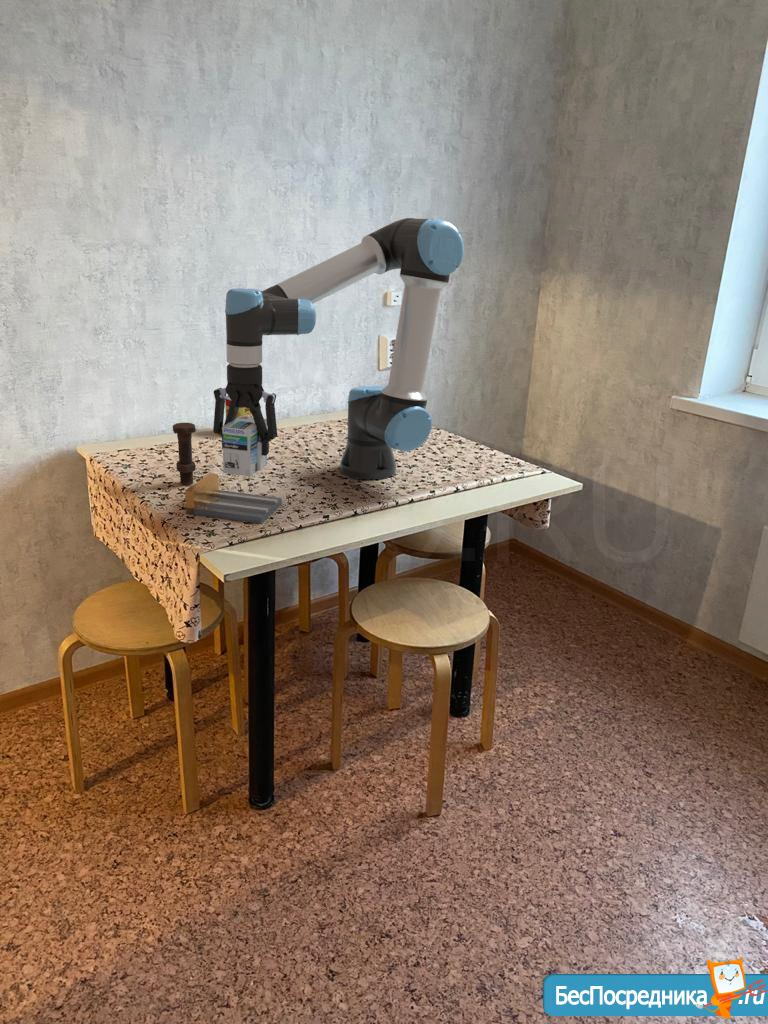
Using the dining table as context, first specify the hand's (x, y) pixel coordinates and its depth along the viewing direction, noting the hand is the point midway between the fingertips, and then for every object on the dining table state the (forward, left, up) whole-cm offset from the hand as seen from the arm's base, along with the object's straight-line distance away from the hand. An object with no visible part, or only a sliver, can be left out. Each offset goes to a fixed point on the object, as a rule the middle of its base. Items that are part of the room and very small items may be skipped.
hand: (245, 466), depth 173 cm
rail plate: (+3, 0, -11) cm, 11 cm away
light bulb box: (0, 0, -1) cm, 1 cm away
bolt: (+21, -12, -11) cm, 26 cm away
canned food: (+26, -57, -11) cm, 64 cm away
